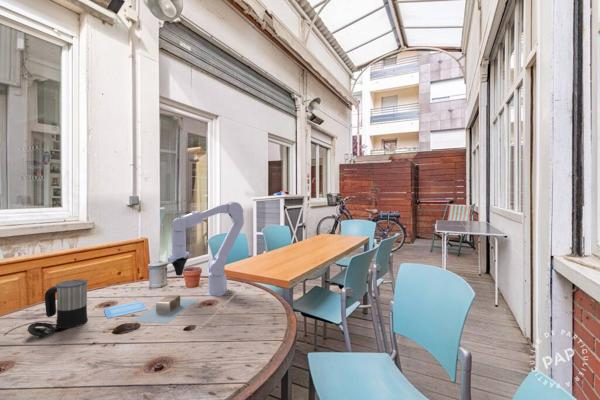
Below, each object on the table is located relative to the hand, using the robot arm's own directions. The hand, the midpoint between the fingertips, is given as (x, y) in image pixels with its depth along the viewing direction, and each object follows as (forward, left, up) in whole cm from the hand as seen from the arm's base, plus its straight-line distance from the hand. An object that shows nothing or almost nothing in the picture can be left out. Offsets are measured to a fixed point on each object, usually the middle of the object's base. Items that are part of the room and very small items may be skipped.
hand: (179, 275), depth 133 cm
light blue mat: (+14, +3, -10) cm, 18 cm away
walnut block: (+9, +3, -8) cm, 12 cm away
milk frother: (+33, -26, -11) cm, 43 cm away
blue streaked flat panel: (+16, -14, -11) cm, 24 cm away
